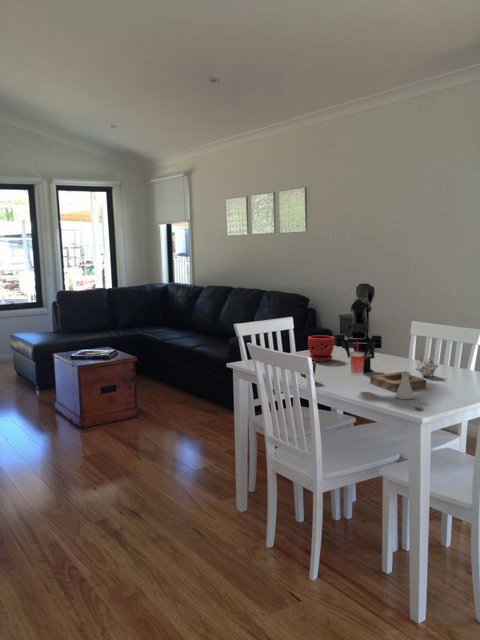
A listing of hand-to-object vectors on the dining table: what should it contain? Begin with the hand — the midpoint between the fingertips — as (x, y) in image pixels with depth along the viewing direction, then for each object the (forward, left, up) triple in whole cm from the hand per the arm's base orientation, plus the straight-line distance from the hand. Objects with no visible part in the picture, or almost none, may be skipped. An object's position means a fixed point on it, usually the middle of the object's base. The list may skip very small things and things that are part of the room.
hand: (357, 358), depth 233 cm
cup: (-22, -10, -13) cm, 28 cm away
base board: (+1, +20, -13) cm, 24 cm away
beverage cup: (-1, +1, -7) cm, 7 cm away
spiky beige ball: (-6, +41, -13) cm, 43 cm away
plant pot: (-58, +18, -13) cm, 62 cm away
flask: (+17, +11, -13) cm, 24 cm away
